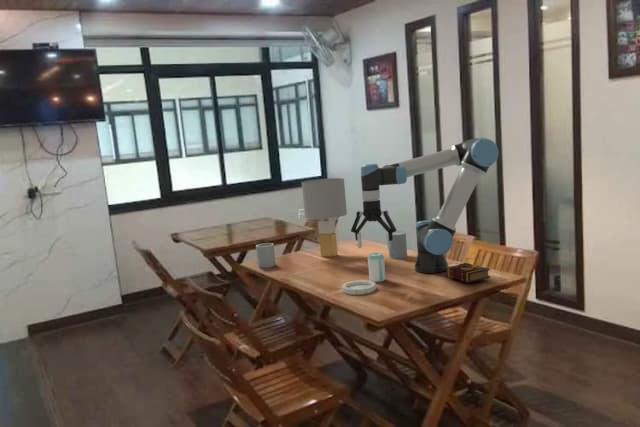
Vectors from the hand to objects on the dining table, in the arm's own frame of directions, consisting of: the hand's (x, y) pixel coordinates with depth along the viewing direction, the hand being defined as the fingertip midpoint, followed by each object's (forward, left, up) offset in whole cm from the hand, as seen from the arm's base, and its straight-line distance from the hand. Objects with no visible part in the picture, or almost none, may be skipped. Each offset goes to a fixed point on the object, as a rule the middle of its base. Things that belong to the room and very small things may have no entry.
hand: (374, 248), depth 244 cm
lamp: (+43, -43, -15) cm, 63 cm away
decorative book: (-37, -10, -15) cm, 41 cm away
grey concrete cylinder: (+5, -46, -15) cm, 49 cm away
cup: (+67, -18, -15) cm, 71 cm away
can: (0, 0, -15) cm, 15 cm away
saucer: (+3, +15, -15) cm, 21 cm away
